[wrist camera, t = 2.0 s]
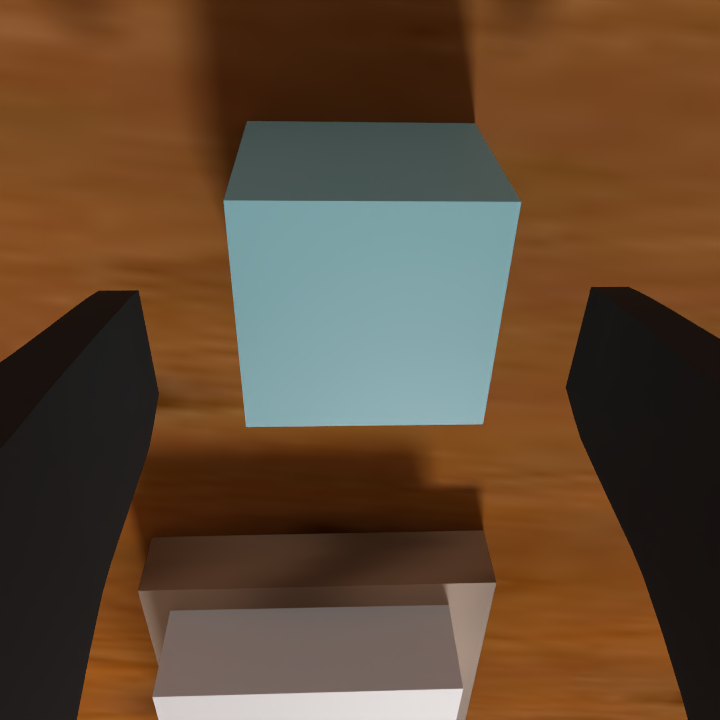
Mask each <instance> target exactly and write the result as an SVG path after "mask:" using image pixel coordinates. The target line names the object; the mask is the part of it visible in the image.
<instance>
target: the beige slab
mask: <svg viewBox="0 0 720 720" xmlns="http://www.w3.org/2000/svg"><path fill="white" fill-rule="evenodd" d="M495 585H496V580H495V576H494V572H493V568H492V564H491V559H490V555H489V551H488V547H487V543H486V539H485V535H484V531H483V530H476V531H427V532H377V533H328V534H279V535H229V536H180V537H152V538H151V542H150V546H149V550H148V554H147V558H146V562H145V566H144V569H143V573H142V577H141V581H140V585H139V589H138V593H139V597H140V600H141V604H142V608H143V611H144V615H145V619H146V622H147V626H148V630H149V633H150V637H151V641H152V644H153V648H154V652H155V655H156V659H157V663H158V666H159V663H160V658H161V653H162V648H163V643H164V639H165V634H166V629H167V624H168V619H169V614H170V611H175V610H223V609H272V608H321V607H370V606H419V605H449V608H450V614H451V620H452V626H453V632H454V638H455V643H456V649H457V655H458V661H459V667H460V673H461V678H462V684H463V692H462V697H461V701H460V705H459V710H458V714H457V719H456V720H465V718H466V714H467V710H468V705H469V701H470V696H471V692H472V687H473V683H474V679H475V674H476V670H477V665H478V661H479V656H480V652H481V648H482V643H483V639H484V634H485V630H486V625H487V621H488V616H489V612H490V608H491V603H492V599H493V594H494V590H495Z"/></svg>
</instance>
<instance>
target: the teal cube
mask: <svg viewBox="0 0 720 720" xmlns="http://www.w3.org/2000/svg"><path fill="white" fill-rule="evenodd" d="M223 201H224V211H225V221H226V231H227V241H228V251H229V261H230V271H231V281H232V291H233V301H234V311H235V321H236V331H237V341H238V351H239V361H240V371H241V381H242V391H243V401H244V411H245V421H246V427H281V426H367V425H453V424H483V421H484V415H485V409H486V403H487V398H488V392H489V386H490V380H491V374H492V369H493V363H494V357H495V351H496V345H497V339H498V334H499V328H500V322H501V316H502V310H503V305H504V299H505V293H506V287H507V281H508V276H509V270H510V264H511V258H512V252H513V247H514V241H515V235H516V229H517V223H518V218H519V212H520V206H521V201H520V199H519V197H518V196H517V194H516V192H515V190H514V189H513V187H512V185H511V184H510V182H509V180H508V179H507V177H506V175H505V173H504V172H503V170H502V168H501V167H500V165H499V163H498V162H497V160H496V158H495V156H494V155H493V153H492V151H491V150H490V148H489V146H488V145H487V143H486V141H485V139H484V138H483V136H482V134H481V133H480V131H479V129H478V128H477V126H476V124H475V123H400V122H301V121H247V123H246V126H245V130H244V133H243V136H242V140H241V143H240V147H239V150H238V153H237V157H236V160H235V163H234V167H233V170H232V173H231V177H230V180H229V184H228V187H227V190H226V194H225V197H224V200H223Z"/></svg>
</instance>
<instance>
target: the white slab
mask: <svg viewBox="0 0 720 720" xmlns="http://www.w3.org/2000/svg"><path fill="white" fill-rule="evenodd" d="M462 692H463V684H462V678H461V673H460V667H459V661H458V655H457V649H456V643H455V638H454V632H453V626H452V620H451V614H450V608H449V605H419V606H370V607H321V608H272V609H223V610H175V611H170V614H169V619H168V624H167V629H166V634H165V639H164V643H163V648H162V653H161V658H160V663H159V668H158V673H157V677H156V682H155V687H154V692H153V701H154V705H155V708H156V712H157V715H158V719H159V720H456V719H457V714H458V710H459V705H460V701H461V697H462Z"/></svg>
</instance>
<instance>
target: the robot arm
mask: <svg viewBox="0 0 720 720" xmlns="http://www.w3.org/2000/svg"><path fill="white" fill-rule="evenodd" d="M566 389H567V393H568V397H569V400H570V404H571V408H572V412H573V415H574V418H575V422H576V425H577V428H578V431H579V435H580V438H581V440H582V442H583V445H584V447H585V449H586V451H587V454H588V456H589V458H590V460H591V462H592V465H593V467H594V469H595V471H596V473H597V476H598V478H599V480H600V482H601V484H602V486H603V488H604V491H605V493H606V495H607V497H608V499H609V501H610V503H611V505H612V508H613V510H614V512H615V514H616V516H617V518H618V520H619V523H620V525H621V527H622V529H623V531H624V533H625V535H626V537H627V540H628V542H629V544H630V546H631V548H632V550H633V553H634V555H635V558H636V560H637V562H638V565H639V567H640V570H641V572H642V575H643V577H644V580H645V583H646V586H647V589H648V592H649V595H650V598H651V601H652V604H653V607H654V610H655V613H656V616H657V618H658V621H659V624H660V627H661V630H662V633H663V637H664V640H665V643H666V646H667V650H668V653H669V656H670V659H671V663H672V666H673V669H674V673H675V676H676V679H677V682H678V686H679V689H680V692H681V695H682V699H683V703H684V706H685V710H686V714H687V717H688V720H720V339H719V338H717V337H716V336H714V335H712V334H711V333H709V332H707V331H706V330H704V329H702V328H701V327H699V326H697V325H696V324H694V323H692V322H691V321H689V320H687V319H686V318H684V317H682V316H681V315H679V314H677V313H676V312H674V311H672V310H671V309H669V308H667V307H666V306H664V305H662V304H660V303H659V302H657V301H655V300H654V299H652V298H650V297H648V296H646V295H644V294H642V293H640V292H638V291H636V290H634V289H632V288H630V287H591V290H590V294H589V298H588V302H587V306H586V310H585V314H584V318H583V322H582V326H581V330H580V333H579V337H578V341H577V345H576V349H575V353H574V357H573V361H572V365H571V369H570V373H569V377H568V381H567V385H566ZM158 395H159V392H158V387H157V382H156V377H155V372H154V367H153V362H152V357H151V352H150V347H149V341H148V336H147V331H146V326H145V321H144V316H143V311H142V306H141V301H140V296H139V291H98V292H96V293H95V294H93V295H91V296H90V297H88V298H87V299H85V300H84V301H83V302H81V303H80V304H78V305H77V306H76V307H74V308H73V309H72V310H70V311H69V312H68V313H66V314H65V315H64V316H63V317H61V318H60V319H59V320H57V321H56V322H55V323H53V324H52V325H51V326H49V327H48V328H47V329H45V330H44V331H43V332H41V333H40V334H39V335H37V336H36V337H35V338H33V339H32V340H31V341H29V342H28V343H27V344H25V345H24V346H23V347H21V348H20V349H18V350H17V351H16V352H14V353H13V354H12V355H10V356H9V357H7V358H6V359H5V360H3V361H2V362H0V720H77V715H78V710H79V705H80V700H81V694H82V689H83V684H84V679H85V674H86V669H87V663H88V658H89V653H90V648H91V644H92V639H93V634H94V630H95V625H96V620H97V616H98V611H99V606H100V602H101V597H102V593H103V589H104V585H105V582H106V578H107V575H108V571H109V568H110V564H111V561H112V558H113V555H114V552H115V549H116V546H117V543H118V540H119V537H120V534H121V531H122V528H123V525H124V522H125V519H126V516H127V513H128V510H129V507H130V504H131V501H132V498H133V495H134V492H135V489H136V486H137V483H138V480H139V477H140V474H141V471H142V468H143V465H144V462H145V459H146V456H147V452H148V449H149V446H150V441H151V435H152V430H153V425H154V419H155V413H156V407H157V401H158Z"/></svg>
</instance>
